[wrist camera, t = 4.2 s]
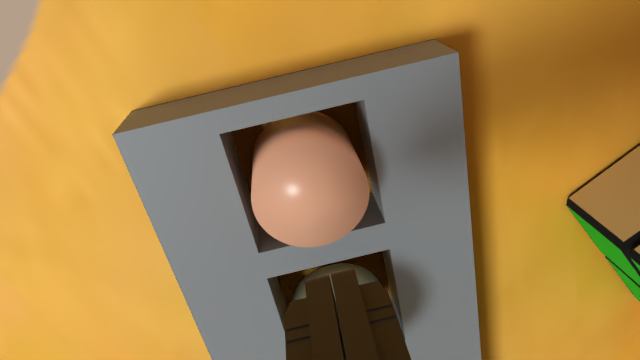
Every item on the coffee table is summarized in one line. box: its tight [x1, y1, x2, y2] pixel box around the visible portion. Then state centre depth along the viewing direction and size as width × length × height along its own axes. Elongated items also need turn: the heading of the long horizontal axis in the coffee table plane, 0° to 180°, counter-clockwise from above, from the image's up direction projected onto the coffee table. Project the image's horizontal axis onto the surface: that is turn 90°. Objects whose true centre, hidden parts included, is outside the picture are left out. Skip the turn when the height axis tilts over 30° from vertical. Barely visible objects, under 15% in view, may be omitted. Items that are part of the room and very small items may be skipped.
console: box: [112, 39, 481, 360], centre depth 25 cm, size 14×23×3 cm, turn 12°
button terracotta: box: [251, 111, 370, 247], centre depth 21 cm, size 5×5×4 cm
